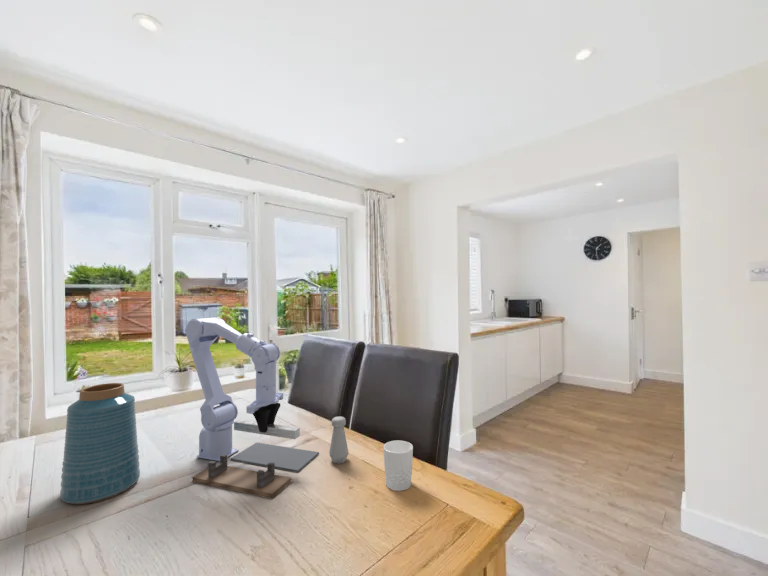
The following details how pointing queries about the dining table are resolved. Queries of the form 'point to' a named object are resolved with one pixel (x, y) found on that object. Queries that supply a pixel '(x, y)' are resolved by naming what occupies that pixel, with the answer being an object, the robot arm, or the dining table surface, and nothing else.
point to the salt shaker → (338, 441)
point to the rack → (243, 479)
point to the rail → (268, 429)
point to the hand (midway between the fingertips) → (266, 430)
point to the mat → (276, 456)
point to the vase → (100, 445)
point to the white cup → (398, 464)
